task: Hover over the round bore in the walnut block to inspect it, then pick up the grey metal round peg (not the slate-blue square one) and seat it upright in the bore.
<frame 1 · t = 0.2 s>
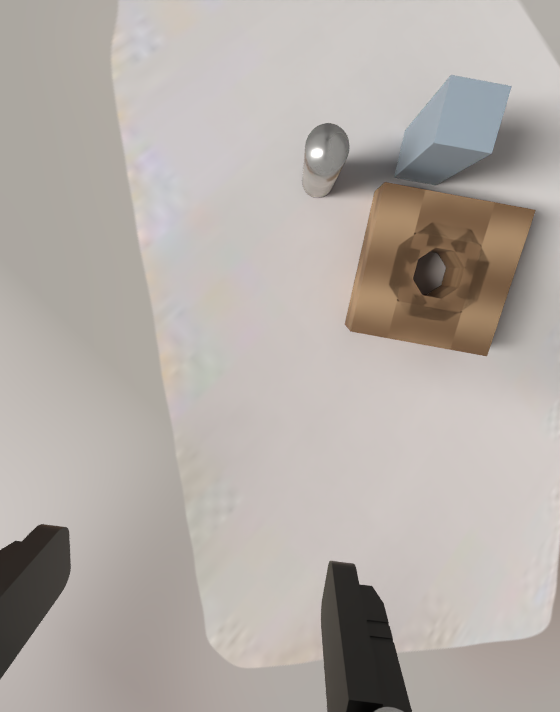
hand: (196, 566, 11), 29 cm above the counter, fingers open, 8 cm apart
square peg: (420, 158, 34), on the counter
bore block: (423, 272, 36), on the counter
round peg: (317, 180, 34), on the counter
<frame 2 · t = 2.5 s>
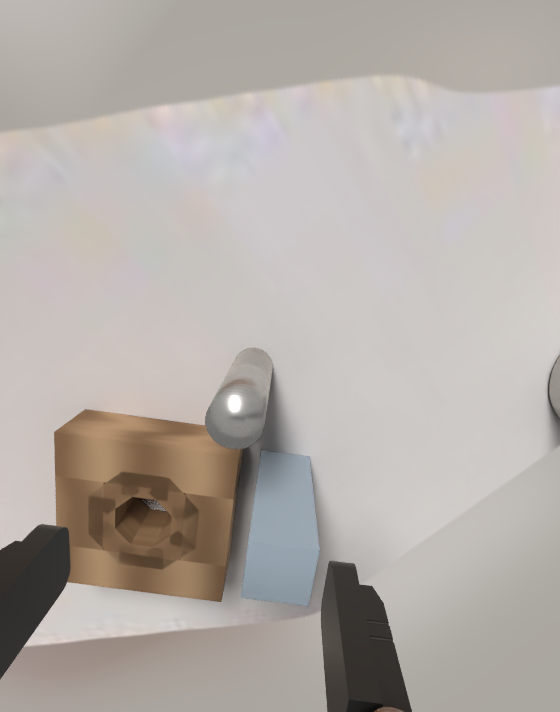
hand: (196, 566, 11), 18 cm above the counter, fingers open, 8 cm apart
square peg: (282, 474, 30), on the counter
bore block: (161, 489, 31), on the counter
round peg: (253, 366, 28), on the counter
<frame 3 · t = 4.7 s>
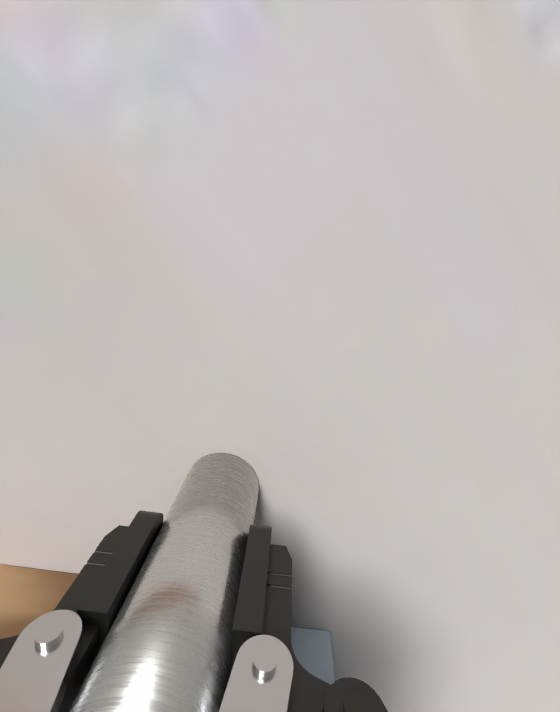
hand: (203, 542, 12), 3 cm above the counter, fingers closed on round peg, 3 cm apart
square peg: (282, 658, 17), on the counter
bore block: (76, 678, 18), on the counter
round peg: (222, 485, 15), on the counter, touching gripper
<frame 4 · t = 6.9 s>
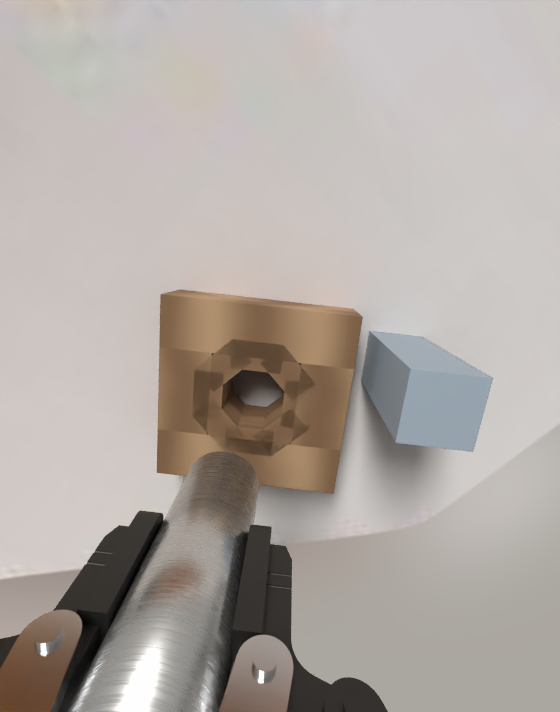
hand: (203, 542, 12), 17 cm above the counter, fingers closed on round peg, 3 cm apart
square peg: (391, 359, 28), on the counter
bore block: (258, 381, 29), on the counter
round peg: (223, 484, 15), point 14 cm above the counter, touching gripper
when the fingers open (5 cm above the counter, at t = 9.4 s): round peg drops 2 cm, resting in bore block.
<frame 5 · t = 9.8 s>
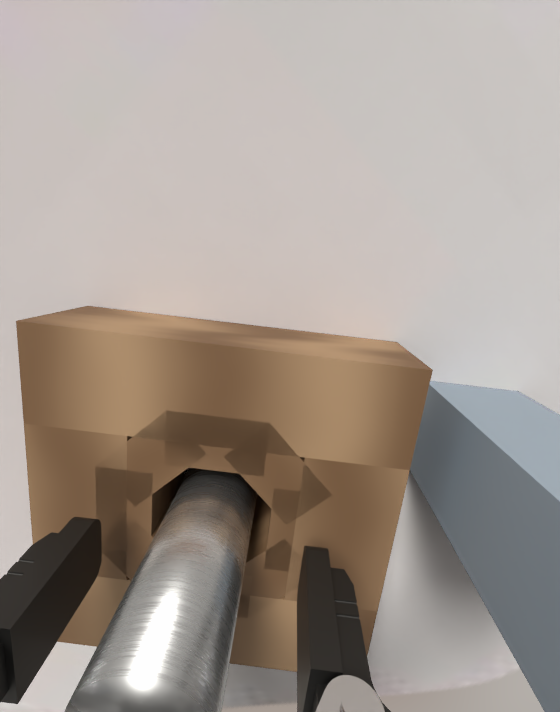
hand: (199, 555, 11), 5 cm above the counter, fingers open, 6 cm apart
square peg: (460, 428, 16), on the counter
bore block: (229, 462, 17), on the counter
round peg: (229, 460, 17), resting in bore block
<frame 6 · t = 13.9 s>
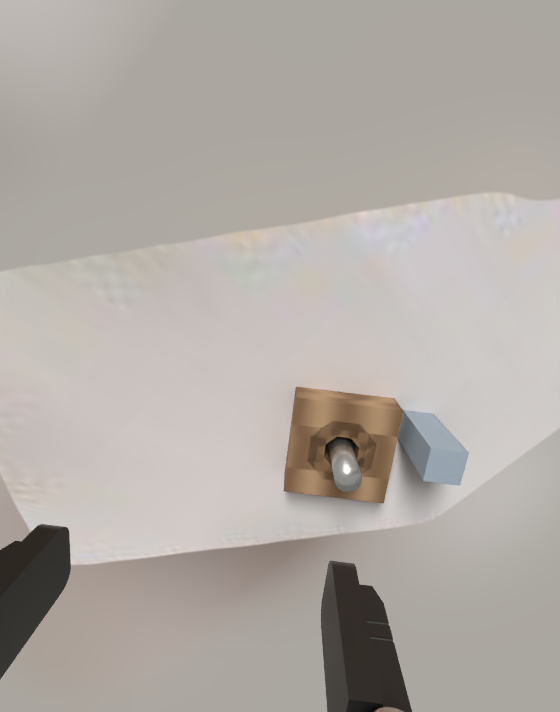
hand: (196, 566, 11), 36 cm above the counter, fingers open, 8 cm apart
square peg: (415, 426, 48), on the counter
bore block: (337, 437, 49), on the counter
round peg: (337, 436, 49), resting in bore block
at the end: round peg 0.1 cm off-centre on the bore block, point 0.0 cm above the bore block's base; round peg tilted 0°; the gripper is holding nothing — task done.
